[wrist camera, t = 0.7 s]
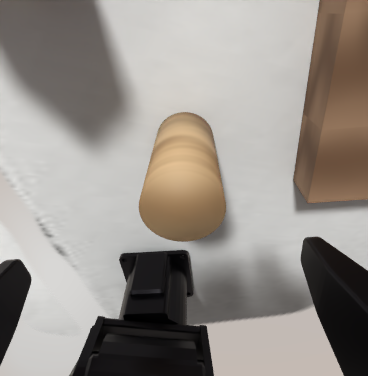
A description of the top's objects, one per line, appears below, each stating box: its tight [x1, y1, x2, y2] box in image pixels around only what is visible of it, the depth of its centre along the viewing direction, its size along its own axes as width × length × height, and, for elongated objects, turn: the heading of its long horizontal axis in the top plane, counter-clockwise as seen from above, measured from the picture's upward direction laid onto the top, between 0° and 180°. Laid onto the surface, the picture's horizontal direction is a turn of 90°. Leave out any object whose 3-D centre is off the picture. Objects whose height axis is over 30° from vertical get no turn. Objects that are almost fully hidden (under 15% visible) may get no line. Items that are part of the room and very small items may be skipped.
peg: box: [139, 112, 226, 241], centre depth 16 cm, size 4×4×8 cm
